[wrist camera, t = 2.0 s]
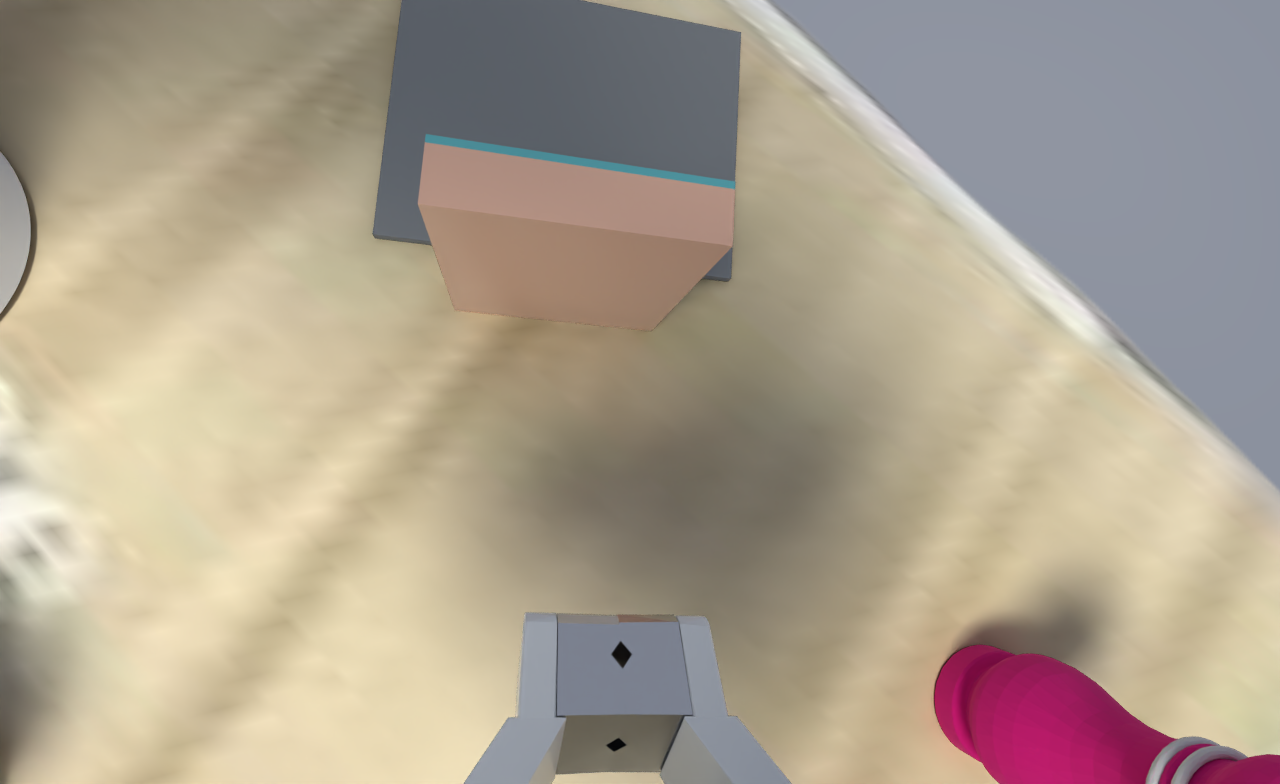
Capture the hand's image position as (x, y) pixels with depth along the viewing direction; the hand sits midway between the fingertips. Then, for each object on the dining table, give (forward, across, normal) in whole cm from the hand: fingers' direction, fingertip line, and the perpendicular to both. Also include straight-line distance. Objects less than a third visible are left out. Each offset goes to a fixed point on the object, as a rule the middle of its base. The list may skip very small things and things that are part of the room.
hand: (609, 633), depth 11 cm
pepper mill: (+11, -26, +24) cm, 37 cm away
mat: (+33, 0, +1) cm, 33 cm away
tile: (+26, 0, +8) cm, 27 cm away
